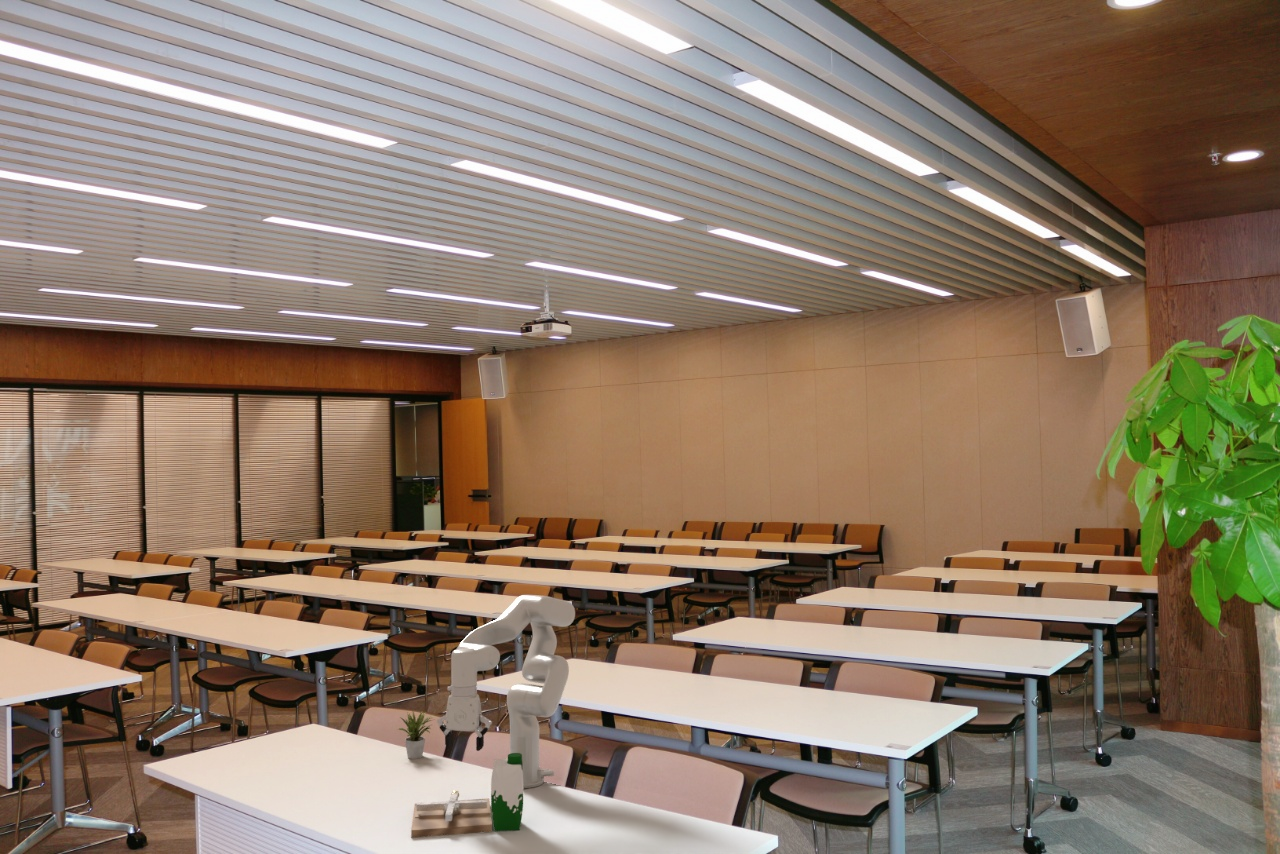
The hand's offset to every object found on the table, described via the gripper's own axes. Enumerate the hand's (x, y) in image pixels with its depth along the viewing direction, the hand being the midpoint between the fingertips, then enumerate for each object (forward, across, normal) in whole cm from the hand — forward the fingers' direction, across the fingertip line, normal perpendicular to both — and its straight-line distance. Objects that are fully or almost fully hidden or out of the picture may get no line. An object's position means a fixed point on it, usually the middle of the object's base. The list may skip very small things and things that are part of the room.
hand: (464, 748), depth 285 cm
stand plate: (+18, 0, -9) cm, 20 cm away
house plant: (+19, -39, +46) cm, 63 cm away
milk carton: (+18, +17, -10) cm, 27 cm away
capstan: (+16, 0, -9) cm, 18 cm away
